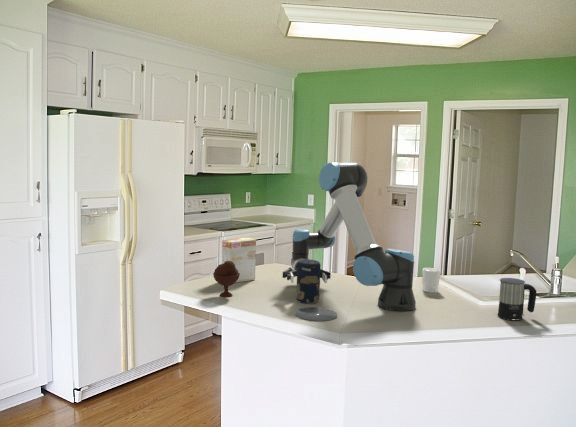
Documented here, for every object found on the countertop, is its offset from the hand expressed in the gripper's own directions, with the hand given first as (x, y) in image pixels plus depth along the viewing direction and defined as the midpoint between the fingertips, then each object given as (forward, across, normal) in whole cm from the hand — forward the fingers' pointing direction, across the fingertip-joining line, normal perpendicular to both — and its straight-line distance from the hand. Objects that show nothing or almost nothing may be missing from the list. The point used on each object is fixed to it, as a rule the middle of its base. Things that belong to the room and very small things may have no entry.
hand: (309, 279), depth 221 cm
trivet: (+15, -1, -10) cm, 18 cm away
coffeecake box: (-38, +28, -10) cm, 48 cm away
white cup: (-22, -59, -10) cm, 64 cm away
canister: (-3, 0, -10) cm, 11 cm away
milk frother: (+13, -79, -10) cm, 81 cm away
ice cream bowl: (-11, +33, -10) cm, 37 cm away
